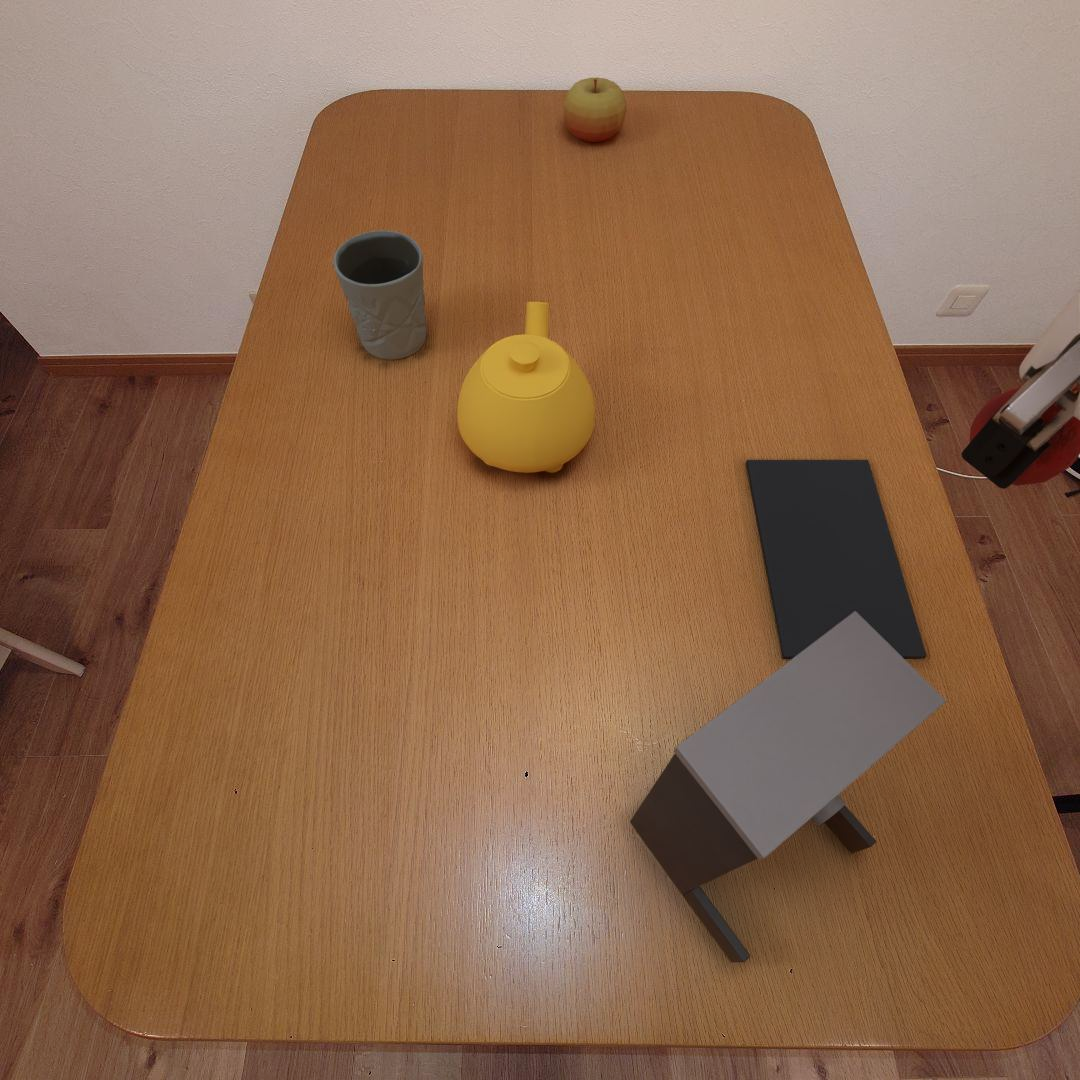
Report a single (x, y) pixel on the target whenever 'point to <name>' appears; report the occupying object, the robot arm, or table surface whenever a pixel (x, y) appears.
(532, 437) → the teapot
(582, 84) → the apple
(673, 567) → the table surface
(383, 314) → the grey cup
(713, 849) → the grey legged box
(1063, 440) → the pomegranate
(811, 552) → the mat
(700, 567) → the table surface
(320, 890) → the table surface
